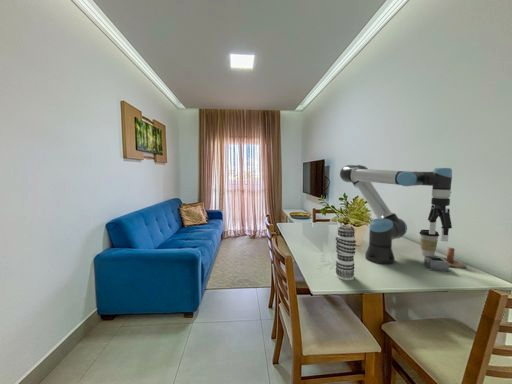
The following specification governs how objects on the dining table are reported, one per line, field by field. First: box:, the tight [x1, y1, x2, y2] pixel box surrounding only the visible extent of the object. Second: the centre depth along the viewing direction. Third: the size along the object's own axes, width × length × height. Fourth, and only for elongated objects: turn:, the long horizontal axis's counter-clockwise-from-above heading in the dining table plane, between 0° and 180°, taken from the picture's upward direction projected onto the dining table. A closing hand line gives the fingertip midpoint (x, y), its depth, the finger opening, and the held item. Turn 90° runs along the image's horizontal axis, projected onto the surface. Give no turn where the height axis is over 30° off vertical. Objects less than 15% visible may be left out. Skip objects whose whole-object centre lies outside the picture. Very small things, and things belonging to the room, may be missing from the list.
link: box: [423, 255, 450, 273], centre depth 123 cm, size 8×8×5 cm
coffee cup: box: [418, 229, 440, 257], centre depth 142 cm, size 10×10×15 cm
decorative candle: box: [335, 224, 357, 281], centre depth 112 cm, size 9×9×25 cm
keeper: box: [444, 247, 467, 269], centre depth 128 cm, size 10×10×9 cm
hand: (437, 237), depth 122 cm, fingers open, 13 cm apart
